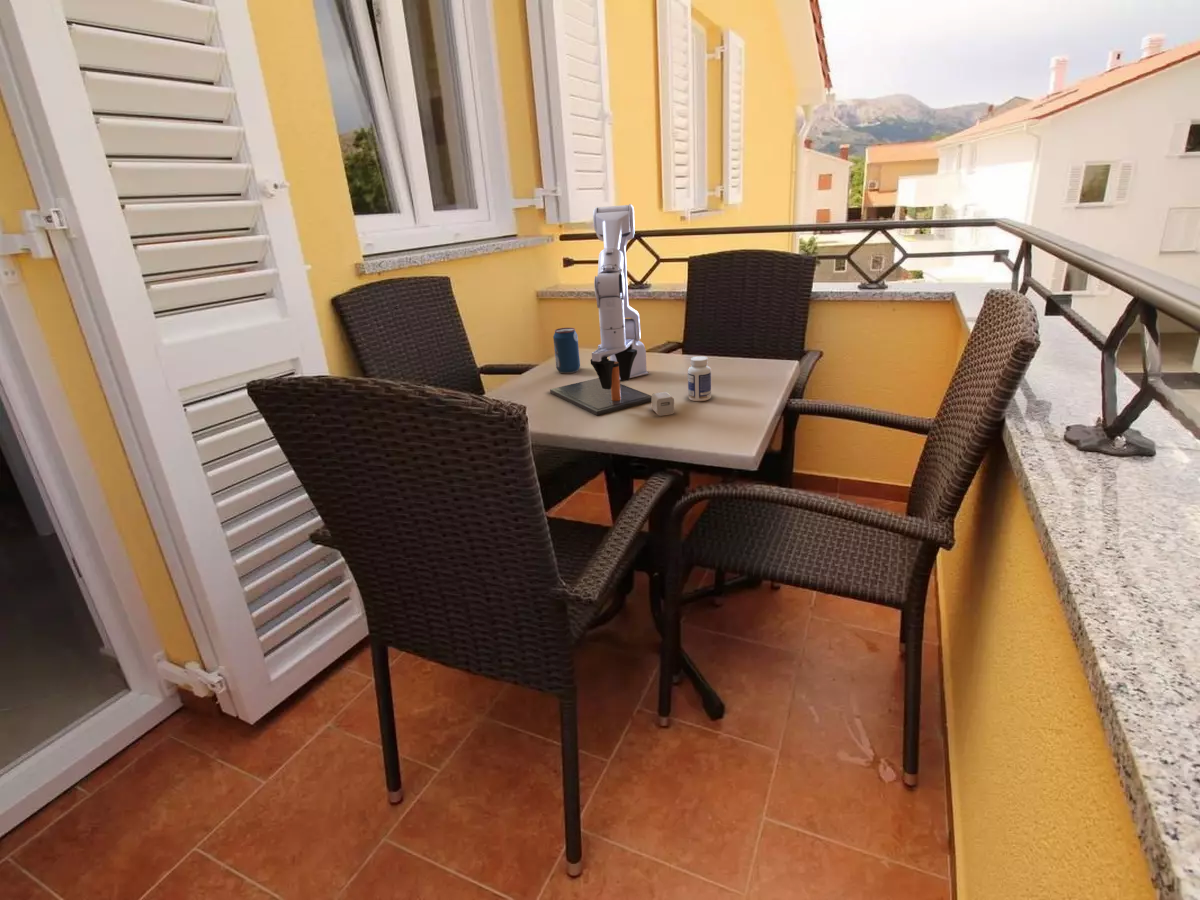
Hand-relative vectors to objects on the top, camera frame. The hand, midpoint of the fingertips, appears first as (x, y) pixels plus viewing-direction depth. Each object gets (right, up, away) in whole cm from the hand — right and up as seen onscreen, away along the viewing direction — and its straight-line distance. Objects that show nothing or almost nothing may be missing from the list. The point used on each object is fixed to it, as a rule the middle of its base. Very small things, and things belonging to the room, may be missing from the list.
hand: (616, 384), depth 148 cm
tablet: (-4, -2, +8) cm, 9 cm away
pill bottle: (+20, -3, +1) cm, 20 cm away
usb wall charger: (+10, -7, -5) cm, 13 cm away
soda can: (-13, +7, +34) cm, 37 cm away
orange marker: (0, -4, +1) cm, 4 cm away
